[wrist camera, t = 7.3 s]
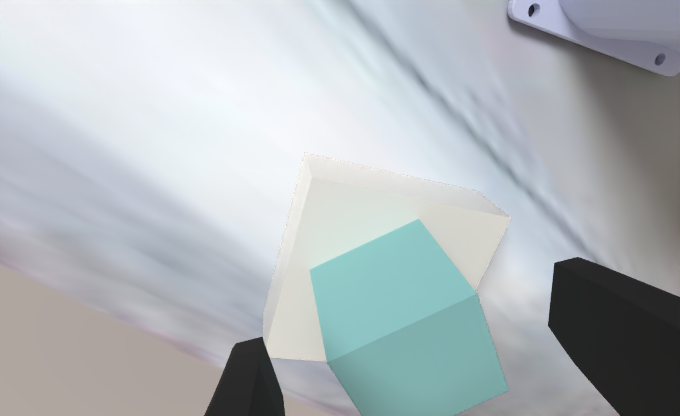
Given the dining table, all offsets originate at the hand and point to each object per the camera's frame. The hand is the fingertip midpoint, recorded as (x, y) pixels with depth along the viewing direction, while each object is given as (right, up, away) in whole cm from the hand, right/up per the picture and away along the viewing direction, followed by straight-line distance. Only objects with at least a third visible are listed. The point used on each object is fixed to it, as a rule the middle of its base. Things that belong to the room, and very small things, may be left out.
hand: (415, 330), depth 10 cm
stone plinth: (0, +1, +11) cm, 11 cm away
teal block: (0, -1, +8) cm, 8 cm away
